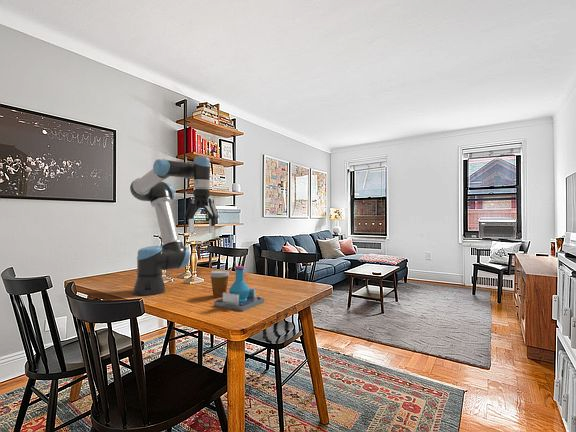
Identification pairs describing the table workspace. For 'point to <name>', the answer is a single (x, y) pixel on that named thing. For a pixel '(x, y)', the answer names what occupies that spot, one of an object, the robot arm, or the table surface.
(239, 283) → the perfume bottle
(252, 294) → the base
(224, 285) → the disposable coffee cup
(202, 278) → the table surface
